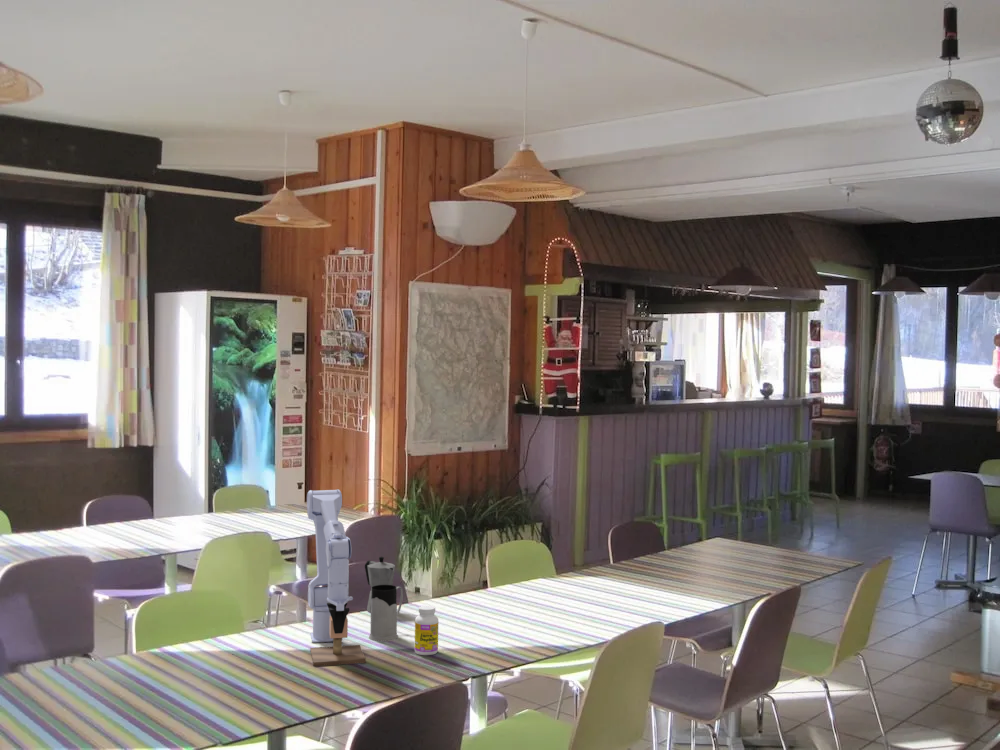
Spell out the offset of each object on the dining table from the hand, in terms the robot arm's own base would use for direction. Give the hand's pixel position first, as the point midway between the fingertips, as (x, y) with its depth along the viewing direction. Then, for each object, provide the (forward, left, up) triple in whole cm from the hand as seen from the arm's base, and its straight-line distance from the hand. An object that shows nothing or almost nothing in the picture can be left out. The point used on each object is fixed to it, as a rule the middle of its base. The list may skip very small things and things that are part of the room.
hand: (337, 630), depth 270 cm
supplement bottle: (+1, +25, -8) cm, 26 cm away
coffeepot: (-50, +18, -8) cm, 54 cm away
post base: (0, 0, -7) cm, 7 cm away
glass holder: (-19, +17, -8) cm, 27 cm away
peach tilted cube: (0, 0, -2) cm, 2 cm away
